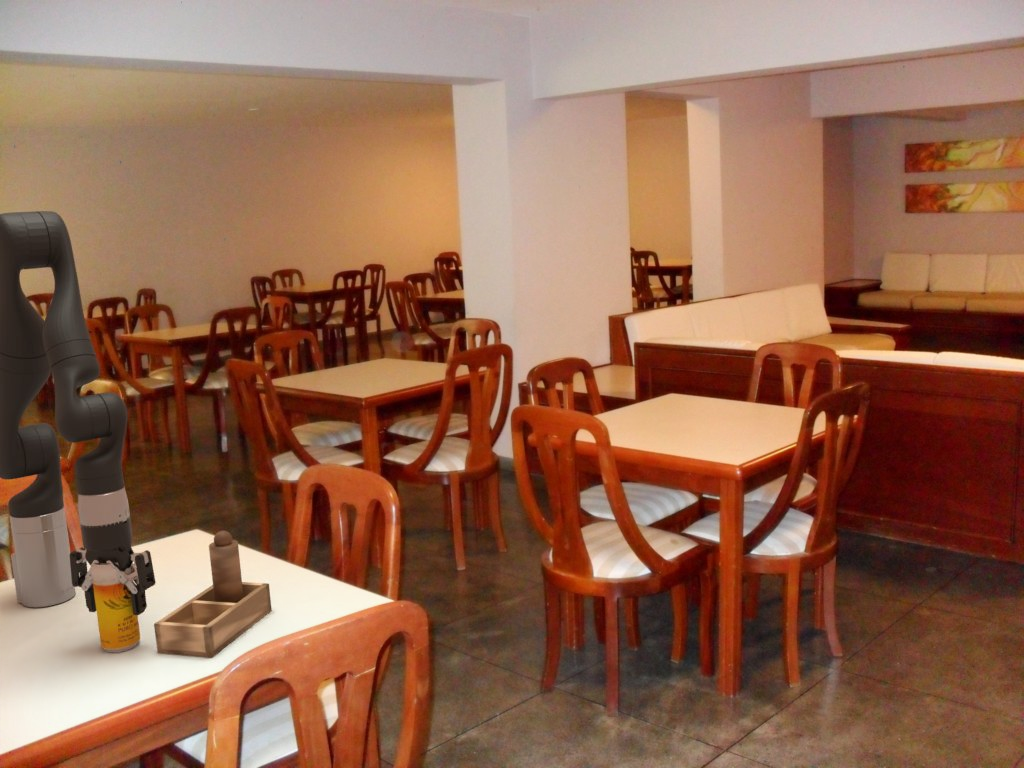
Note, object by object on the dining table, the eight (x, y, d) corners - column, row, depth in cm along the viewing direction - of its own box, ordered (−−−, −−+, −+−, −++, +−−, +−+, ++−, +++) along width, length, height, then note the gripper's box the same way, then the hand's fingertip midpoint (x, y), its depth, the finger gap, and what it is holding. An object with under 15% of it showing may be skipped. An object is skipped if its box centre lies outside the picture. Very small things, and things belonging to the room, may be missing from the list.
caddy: (157, 653, 161) (146, 558, 158) (221, 607, 179) (212, 521, 176) (211, 657, 158) (201, 561, 155) (271, 610, 176) (263, 523, 173)
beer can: (127, 654, 161) (116, 566, 158) (93, 653, 162) (82, 565, 159) (148, 638, 167) (137, 553, 164) (115, 637, 168) (104, 552, 165)
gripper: (51, 522, 159) (65, 618, 161) (127, 525, 155) (140, 623, 157) (83, 508, 166) (96, 601, 169) (157, 511, 162) (168, 605, 165)
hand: (117, 611), depth 163 cm, fingers open, 8 cm apart
